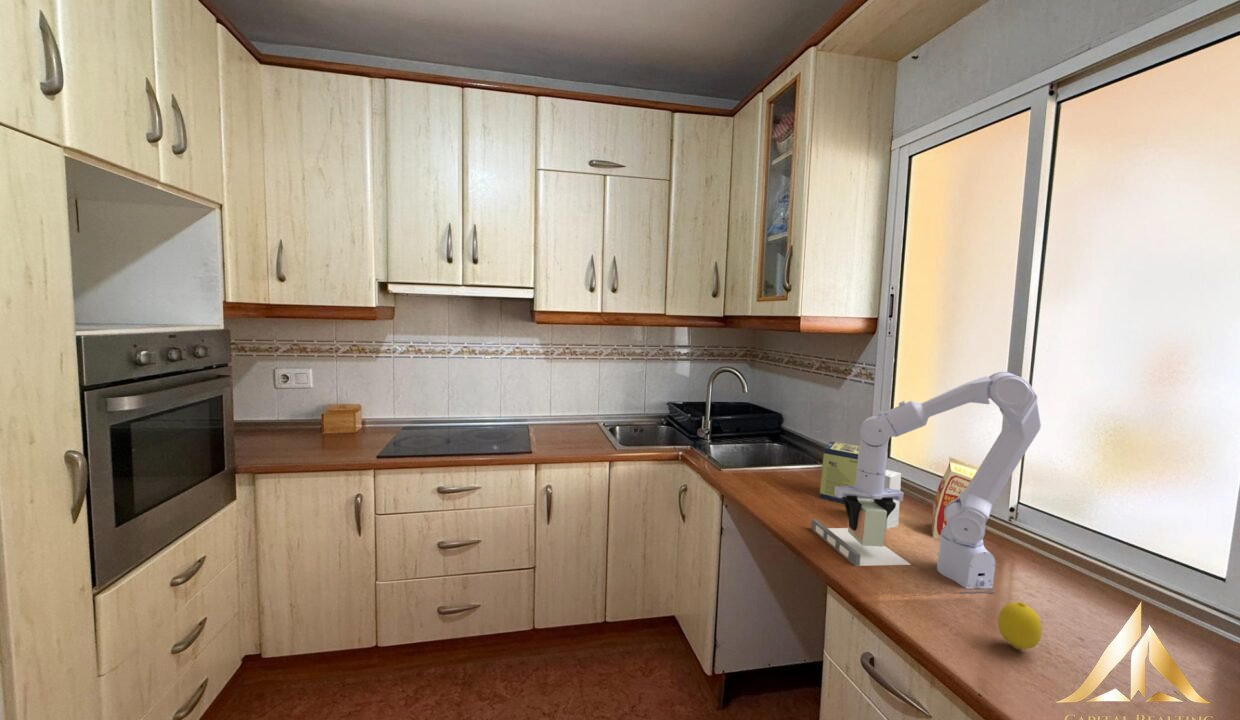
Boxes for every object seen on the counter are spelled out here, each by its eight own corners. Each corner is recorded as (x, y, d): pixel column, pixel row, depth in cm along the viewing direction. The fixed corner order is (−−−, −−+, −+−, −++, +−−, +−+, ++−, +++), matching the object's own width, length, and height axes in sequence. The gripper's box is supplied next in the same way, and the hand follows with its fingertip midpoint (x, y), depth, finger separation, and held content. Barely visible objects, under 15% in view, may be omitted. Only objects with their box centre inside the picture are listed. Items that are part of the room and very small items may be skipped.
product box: (867, 532, 115) (870, 499, 114) (883, 546, 108) (887, 511, 107) (846, 531, 115) (849, 498, 114) (860, 545, 108) (864, 510, 107)
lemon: (1018, 638, 84) (1024, 593, 83) (1047, 661, 79) (1054, 613, 78) (987, 637, 84) (992, 592, 83) (1014, 660, 78) (1020, 612, 78)
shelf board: (910, 569, 106) (912, 553, 106) (853, 571, 104) (855, 554, 104) (858, 532, 124) (860, 518, 123) (809, 533, 122) (811, 519, 121)
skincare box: (898, 529, 127) (904, 473, 125) (885, 534, 124) (891, 476, 122) (866, 517, 134) (872, 464, 132) (854, 521, 130) (859, 467, 129)
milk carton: (933, 537, 123) (942, 459, 121) (929, 524, 131) (938, 451, 129) (977, 547, 119) (987, 466, 117) (971, 533, 127) (980, 457, 125)
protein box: (876, 511, 139) (882, 457, 137) (818, 498, 147) (823, 447, 145) (879, 500, 147) (885, 449, 146) (824, 488, 155) (828, 440, 154)
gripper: (846, 474, 106) (840, 535, 107) (913, 478, 106) (907, 538, 107) (832, 464, 113) (827, 521, 114) (895, 467, 113) (889, 524, 114)
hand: (864, 529), depth 111 cm, fingers closed on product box, 5 cm apart
